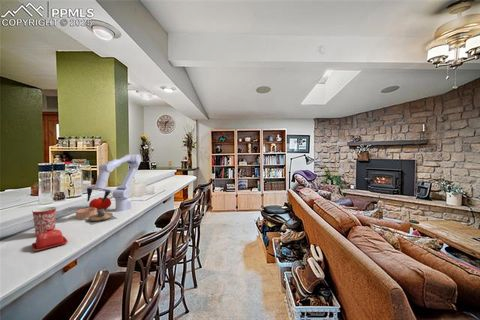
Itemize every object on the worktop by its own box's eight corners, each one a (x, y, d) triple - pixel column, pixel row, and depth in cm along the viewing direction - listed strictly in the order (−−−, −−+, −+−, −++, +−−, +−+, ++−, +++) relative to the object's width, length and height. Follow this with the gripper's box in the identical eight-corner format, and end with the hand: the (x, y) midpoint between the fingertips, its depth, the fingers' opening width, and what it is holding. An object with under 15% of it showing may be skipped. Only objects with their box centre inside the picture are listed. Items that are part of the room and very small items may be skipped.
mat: (109, 214, 137) (109, 214, 137) (117, 219, 128) (117, 218, 128) (84, 220, 126) (84, 219, 126) (91, 225, 117) (91, 224, 117)
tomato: (113, 206, 159) (113, 195, 158) (110, 210, 147) (109, 198, 147) (92, 207, 154) (92, 196, 153) (87, 212, 142) (87, 200, 142)
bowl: (94, 213, 141) (93, 206, 141) (99, 216, 134) (99, 209, 133) (74, 217, 132) (73, 210, 132) (78, 220, 125) (78, 213, 125)
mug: (52, 236, 103) (51, 210, 102) (29, 238, 100) (27, 212, 99) (63, 227, 115) (62, 204, 114) (42, 229, 111) (41, 205, 111)
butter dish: (64, 237, 102) (63, 221, 101) (68, 244, 94) (68, 227, 94) (31, 246, 93) (30, 228, 93) (33, 254, 86) (33, 234, 85)
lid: (108, 214, 136) (108, 205, 136) (115, 218, 128) (115, 209, 128) (86, 219, 126) (86, 210, 126) (92, 224, 119) (92, 214, 118)
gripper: (88, 177, 124) (80, 199, 119) (114, 182, 131) (108, 203, 126) (89, 179, 130) (81, 200, 125) (114, 183, 136) (108, 203, 132)
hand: (95, 202), depth 126 cm, fingers open, 7 cm apart
